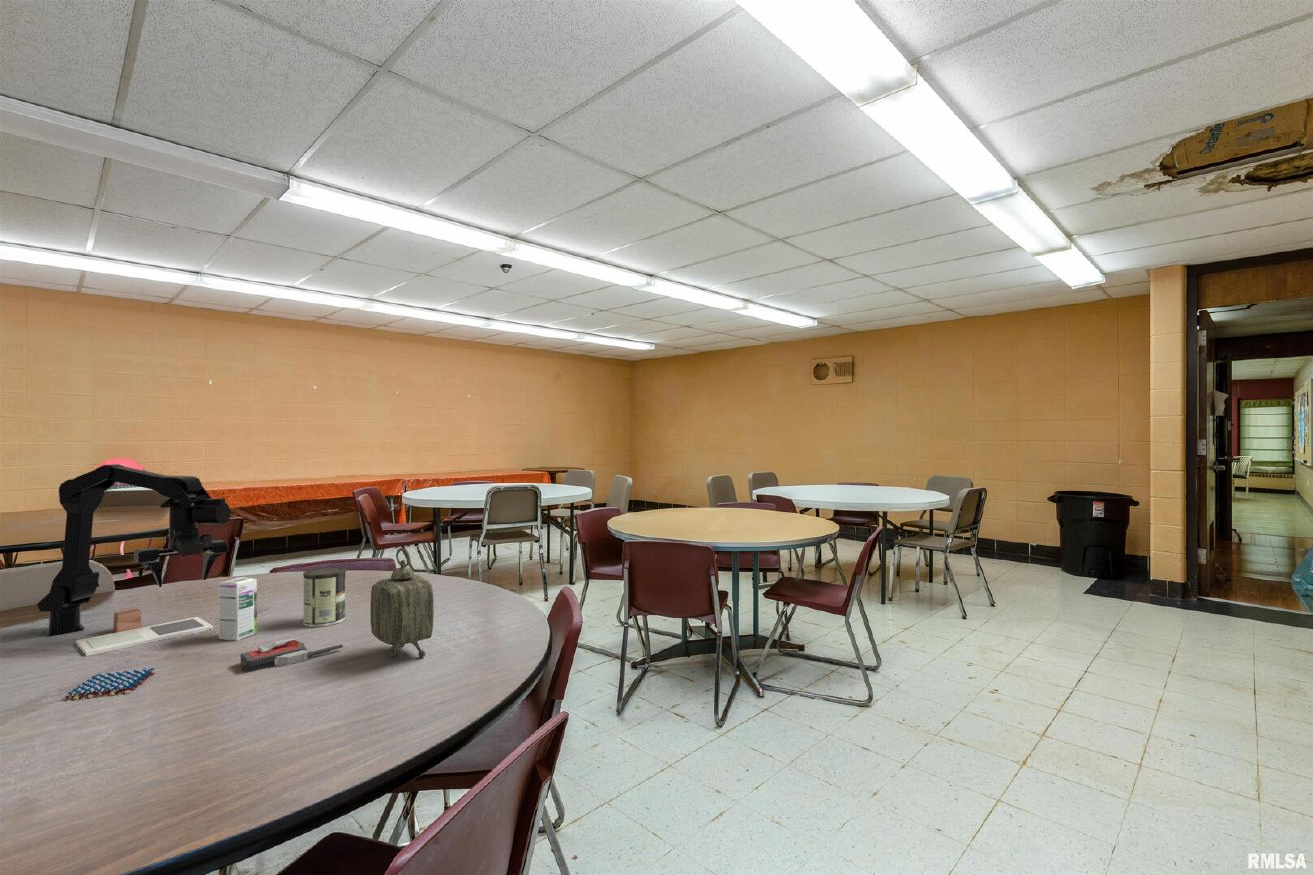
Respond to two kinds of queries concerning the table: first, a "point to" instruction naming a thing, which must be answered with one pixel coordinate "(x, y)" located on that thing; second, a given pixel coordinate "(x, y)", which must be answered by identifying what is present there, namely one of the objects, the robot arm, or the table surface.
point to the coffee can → (324, 596)
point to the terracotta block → (127, 620)
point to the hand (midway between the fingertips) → (182, 583)
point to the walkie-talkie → (279, 654)
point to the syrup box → (237, 608)
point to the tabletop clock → (402, 608)
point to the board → (141, 635)
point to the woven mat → (110, 684)
